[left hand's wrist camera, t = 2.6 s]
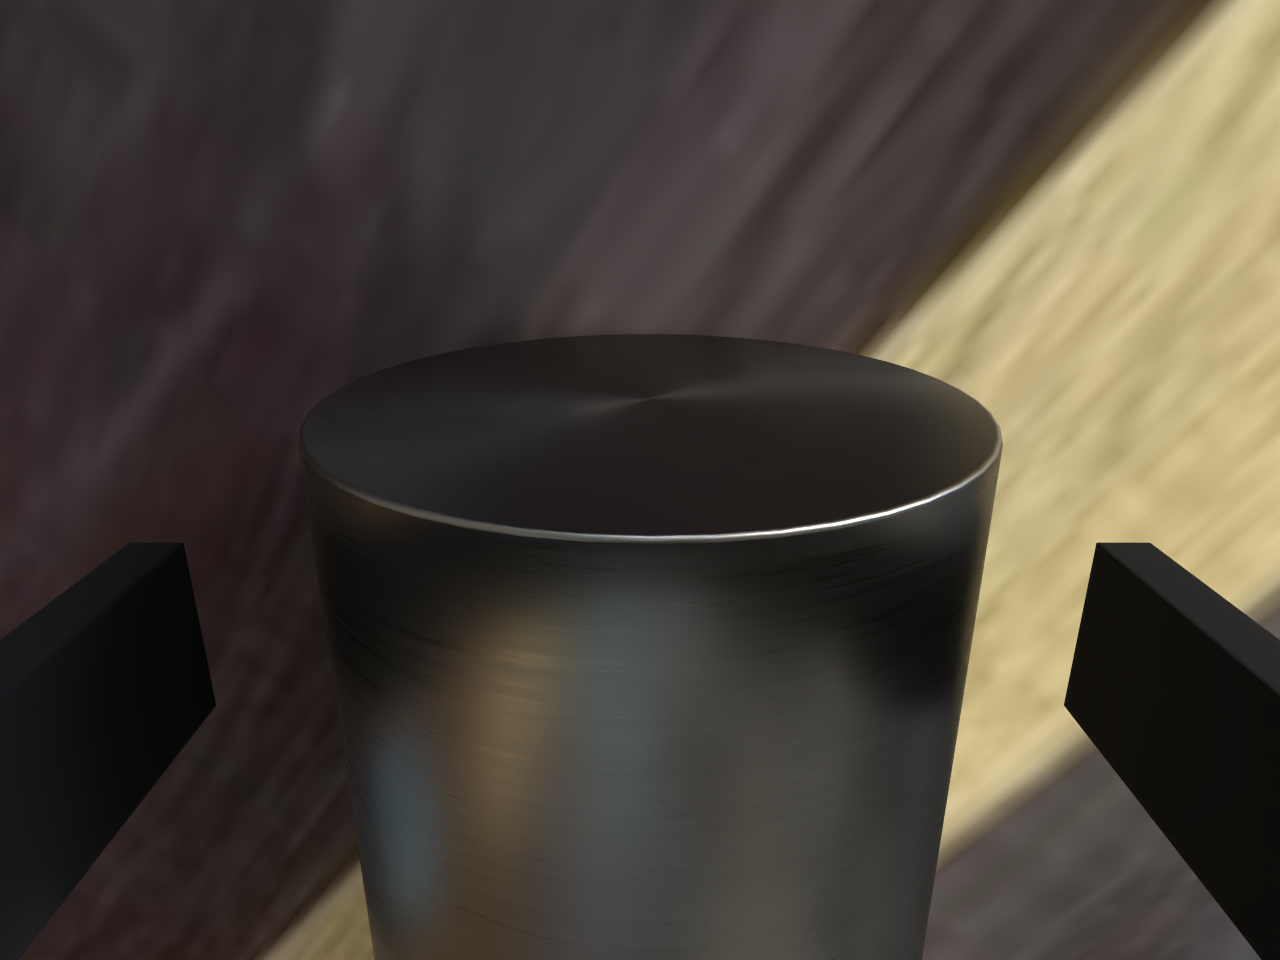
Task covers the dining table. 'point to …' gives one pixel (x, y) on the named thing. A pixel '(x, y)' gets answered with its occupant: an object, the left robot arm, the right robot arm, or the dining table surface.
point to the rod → (649, 644)
